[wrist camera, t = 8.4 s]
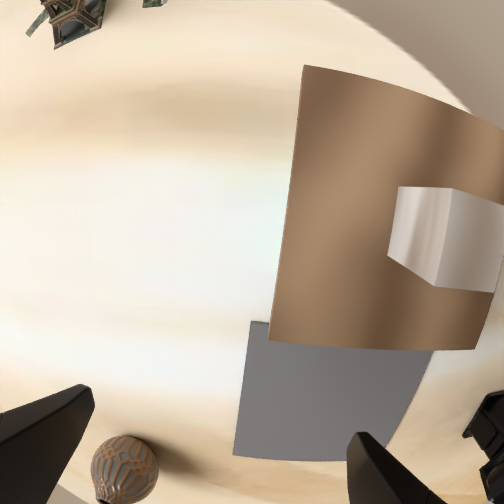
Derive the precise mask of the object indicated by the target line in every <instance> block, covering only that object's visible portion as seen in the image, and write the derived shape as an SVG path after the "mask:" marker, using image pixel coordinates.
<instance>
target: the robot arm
mask: <svg viewBox="0 0 504 504" xmlns="http://www.w3.org/2000/svg"><path fill="white" fill-rule="evenodd" d="M94 408H95V402H94V398H93V394H92V390H91V388H90V387H88V386H86V385H83V384H78V385H75V386H73V387H70V388H68V389H65V390H63V391H60V392H58V393H55V394H52V395H50V396H47V397H45V398H42V399H39V400H37V401H34V402H31V403H28V404H26V405H23V406H20V407H17V408H14V409H12V410H9V411H6V412H4V413H0V504H46V503H47V501H48V499H49V497H50V495H51V493H52V491H53V490H54V488H55V486H56V484H57V482H58V480H59V478H60V477H61V475H62V473H63V471H64V469H65V468H66V466H67V464H68V462H69V460H70V459H71V457H72V455H73V453H74V452H75V450H76V448H77V446H78V445H79V443H80V441H81V439H82V436H83V434H84V432H85V429H86V427H87V425H88V422H89V420H90V418H91V415H92V413H93V411H94ZM472 436H473V437H474V439H475V440H476V442H477V443H478V445H479V446H480V448H481V450H484V452H485V454H486V455H487V457H488V458H489V460H490V461H489V462H488V463H486V464H485V465H484V466H482V467H481V468H480V469H479V471H480V474H481V475H480V476H481V479H482V482H483V485H484V489H485V492H486V495H487V499H488V501H491V502H492V503H494V504H504V391H502V392H498V393H493V394H489V395H487V396H486V397H485V399H484V401H483V402H482V404H481V406H480V408H479V409H478V411H477V413H476V414H475V416H474V418H473V419H472V421H471V422H470V424H469V425H468V427H467V429H466V430H465V432H464V433H463V435H462V437H463V438H468V437H472ZM346 455H347V484H348V494H349V501H350V504H447V503H446V502H444V501H443V500H442V499H441V498H440V497H438V496H437V495H436V494H435V493H434V492H432V491H431V490H429V488H428V487H427V486H426V485H424V484H423V483H422V482H421V481H420V480H419V479H418V478H417V477H415V476H414V475H413V474H412V473H411V472H410V471H409V470H408V469H407V468H406V467H404V466H403V465H402V464H401V463H400V462H399V461H398V460H397V459H396V458H395V457H394V456H393V455H392V454H390V453H389V452H388V451H387V450H386V449H385V448H384V447H383V446H382V445H381V444H380V443H379V442H378V441H377V440H376V439H375V438H374V437H373V436H372V435H371V434H369V433H368V432H366V431H362V432H355V433H354V435H353V437H352V439H351V441H350V443H349V445H348V447H347V451H346Z"/></svg>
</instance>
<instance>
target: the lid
mask: <svg viewBox="0 0 504 504" xmlns="http://www.w3.org/2000/svg"><path fill="white" fill-rule="evenodd" d="M503 257H504V131H503V130H501V129H499V128H497V127H496V126H494V125H492V124H489V123H488V122H486V121H484V120H482V119H480V118H478V117H476V116H474V115H471V114H469V113H467V112H465V111H463V110H460V109H458V108H456V107H454V106H451V105H449V104H446V103H444V102H441V101H439V100H436V99H434V98H431V97H428V96H426V95H423V94H420V93H417V92H414V91H411V90H408V89H405V88H402V87H399V86H396V85H393V84H389V83H386V82H382V81H379V80H375V79H371V78H367V77H364V76H359V75H355V74H351V73H346V72H342V71H337V70H332V69H327V68H321V67H316V66H310V65H304V67H303V71H302V79H301V89H300V99H299V108H298V118H297V127H296V136H295V144H294V153H293V161H292V169H291V177H290V185H289V193H288V201H287V208H286V216H285V223H284V230H283V238H282V245H281V252H280V259H279V265H278V272H277V279H276V285H275V292H274V298H273V305H272V311H271V317H270V324H269V330H268V340H269V341H278V342H286V343H296V344H306V345H316V346H328V347H341V348H357V349H377V350H420V351H431V350H472V349H475V347H476V344H477V342H478V339H479V337H480V334H481V332H482V329H483V326H484V323H485V320H486V318H487V315H488V312H489V309H490V305H491V302H492V299H493V296H494V292H495V289H496V285H497V282H498V278H499V274H500V270H501V266H502V261H503Z"/></svg>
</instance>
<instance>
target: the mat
mask: <svg viewBox="0 0 504 504" xmlns="http://www.w3.org/2000/svg"><path fill="white" fill-rule="evenodd" d="M269 324H270V323H263V322H256V321H251V324H250V332H249V339H248V347H247V354H246V362H245V369H244V376H243V384H242V391H241V398H240V405H239V413H238V420H237V427H236V434H235V441H234V448H233V455H236V456H243V457H251V458H261V459H272V460H287V461H347V455H346V451H347V447H348V445H349V443H350V441H351V439H352V437H353V435H354V433H355V432H362V431H366V432H368V433H369V434H371V435H372V436H373V437H374V438H375V439H376V440H377V441H378V442H379V443H380V444H381V445H382V446H383V447H384V448H385V447H386V445H387V443H388V442H389V440H390V438H391V437H392V435H393V433H394V431H395V430H396V428H397V426H398V424H399V423H400V421H401V419H402V417H403V415H404V413H405V411H406V410H407V408H408V406H409V404H410V402H411V400H412V398H413V396H414V394H415V391H416V389H417V387H418V385H419V383H420V381H421V378H422V376H423V374H424V372H425V369H426V367H427V365H428V362H429V360H430V357H431V355H432V352H433V350H431V351H420V350H377V349H357V348H341V347H328V346H316V345H306V344H296V343H286V342H278V341H269V340H268V330H269Z"/></svg>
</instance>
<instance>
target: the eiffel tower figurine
mask: <svg viewBox="0 0 504 504" xmlns="http://www.w3.org/2000/svg"><path fill="white" fill-rule="evenodd" d="M40 1H41V5H44V6H45V9H44V11H43V12H42V13H41V14H40V15H39V16H38V18H37V19H36V20H35V21H34V23H33V24H32V25H31V26H30V28H29V29H28V30H27V32H26V34H27V35H28V36H29V37H30V36H31V35H32V34H33V32H34V31H35V29H36V28H37V27H38V26H39V25H40V24H41V23H42V22H44V21H45V20H46V19H47V18H48V17H49V16H50V19H49V23H50V24H52V27H53V35H54V42H55V45H54V50H55V49H57V48H59V47H61V46H63V45H65V44H67V43H69V42H71V41H73V40H75V39H77V38H80V37H82V36H84V35H86V34H89V33H91V32H93V31H96V30H98V29H100V28H101V25H102V19H103V14H104V9H105V4H106V0H40ZM166 1H167V0H144V1H143V8H148V7H158V6H162V5H163V4H164V3H165V2H166Z"/></svg>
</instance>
